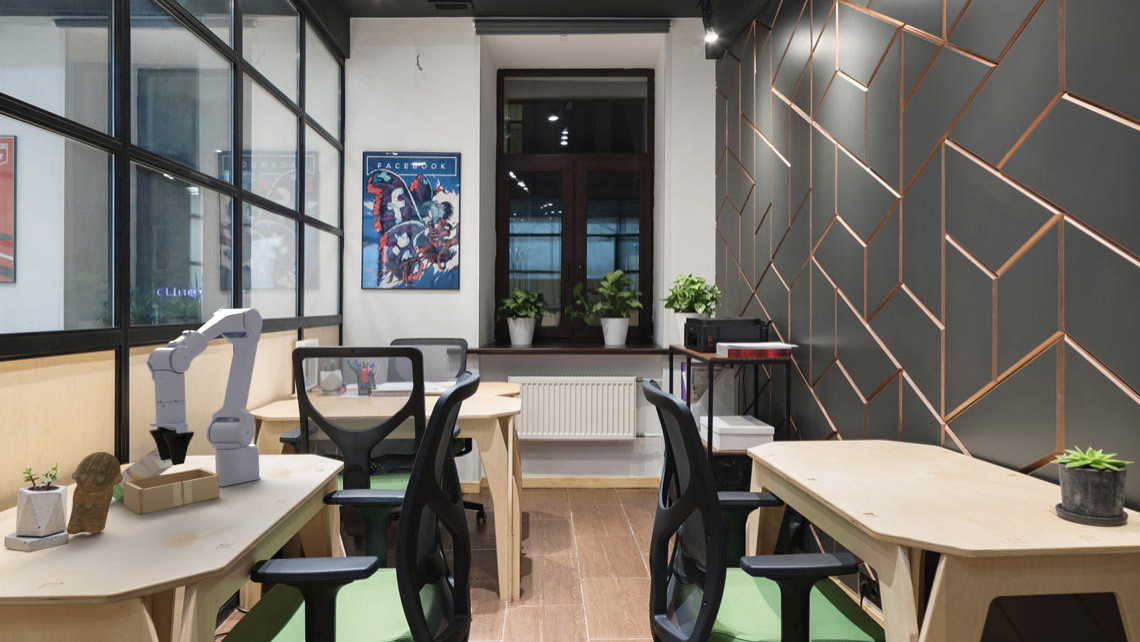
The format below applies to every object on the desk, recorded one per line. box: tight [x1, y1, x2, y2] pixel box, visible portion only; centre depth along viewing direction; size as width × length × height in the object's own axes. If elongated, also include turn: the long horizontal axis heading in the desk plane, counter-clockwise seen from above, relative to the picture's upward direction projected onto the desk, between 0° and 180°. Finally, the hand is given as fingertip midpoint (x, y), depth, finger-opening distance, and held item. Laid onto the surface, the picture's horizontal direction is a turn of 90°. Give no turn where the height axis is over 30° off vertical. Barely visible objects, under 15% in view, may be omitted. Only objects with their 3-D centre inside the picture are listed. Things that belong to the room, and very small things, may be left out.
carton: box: [123, 467, 220, 515], centre depth 148 cm, size 16×11×5 cm
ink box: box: [112, 447, 174, 502], centre depth 153 cm, size 9×5×15 cm
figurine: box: [66, 451, 123, 535], centre depth 127 cm, size 8×8×15 cm
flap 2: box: [182, 475, 219, 506], centre depth 147 cm, size 7×1×5 cm, turn 139°
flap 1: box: [142, 482, 183, 514], centre depth 141 cm, size 7×1×5 cm, turn 139°
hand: (172, 461), depth 145 cm, fingers open, 7 cm apart
